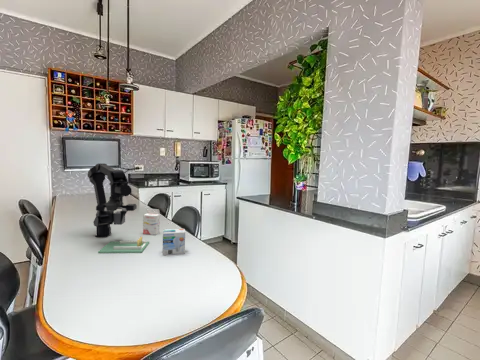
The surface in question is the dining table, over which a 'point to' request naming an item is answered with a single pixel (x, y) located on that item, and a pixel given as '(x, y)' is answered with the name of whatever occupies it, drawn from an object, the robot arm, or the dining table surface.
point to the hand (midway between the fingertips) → (117, 223)
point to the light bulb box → (173, 241)
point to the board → (125, 247)
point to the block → (118, 218)
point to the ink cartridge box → (151, 222)
